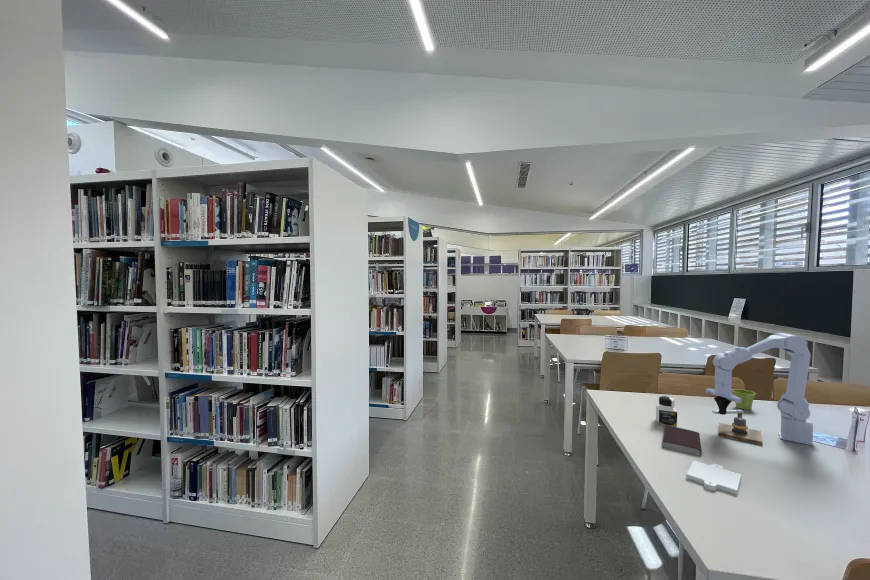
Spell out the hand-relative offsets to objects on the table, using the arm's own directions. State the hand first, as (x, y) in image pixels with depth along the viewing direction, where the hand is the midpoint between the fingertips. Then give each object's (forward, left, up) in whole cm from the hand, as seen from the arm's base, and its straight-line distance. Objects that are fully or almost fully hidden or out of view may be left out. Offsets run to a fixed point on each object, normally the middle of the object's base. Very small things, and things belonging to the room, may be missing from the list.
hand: (722, 414), depth 156 cm
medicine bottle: (+20, +4, -8) cm, 22 cm away
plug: (-6, -1, -8) cm, 10 cm away
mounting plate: (+1, +50, -9) cm, 51 cm away
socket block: (-6, -1, -8) cm, 10 cm away
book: (+12, +24, -9) cm, 28 cm away
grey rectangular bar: (-2, -3, 0) cm, 4 cm away
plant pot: (-8, -47, -8) cm, 48 cm away
